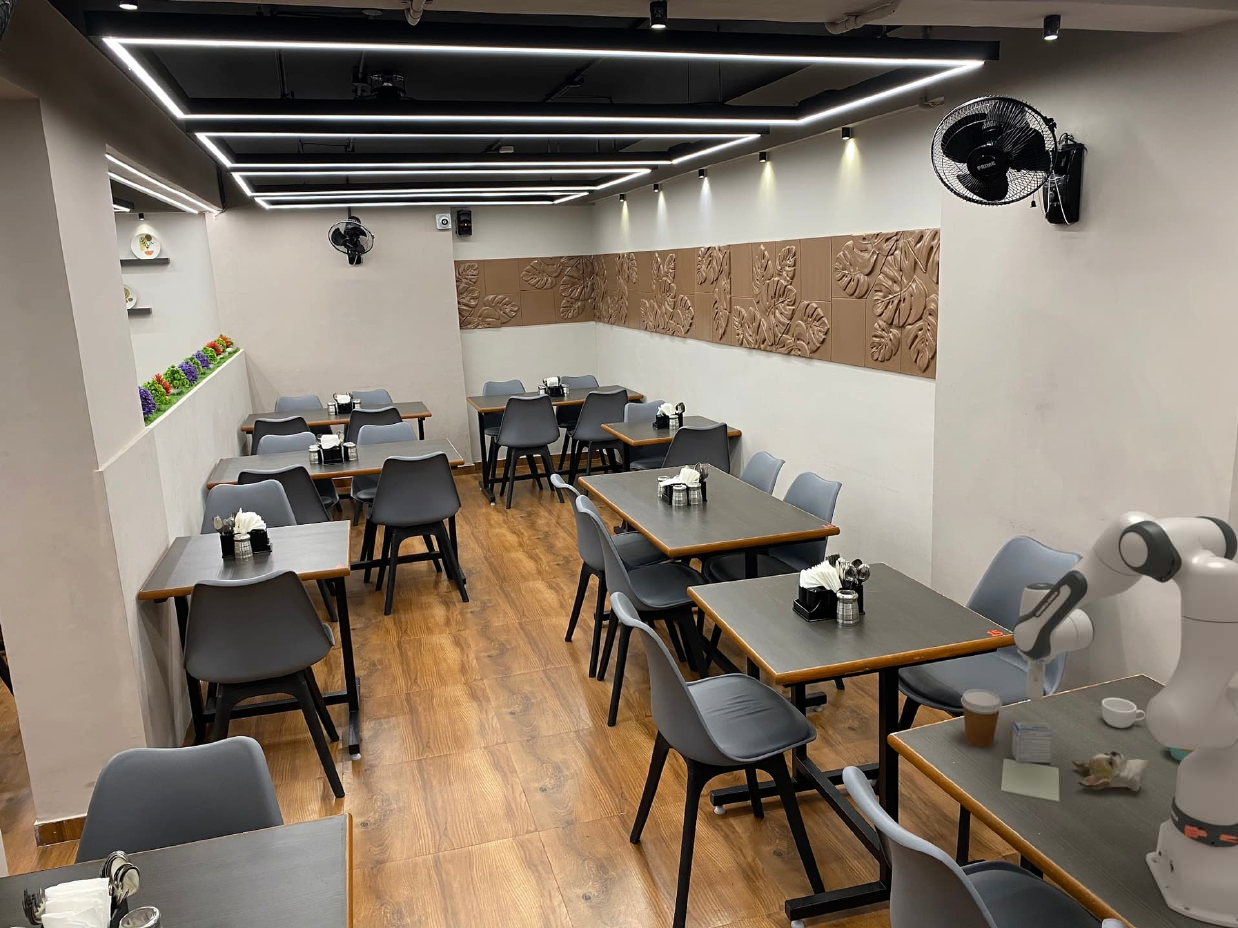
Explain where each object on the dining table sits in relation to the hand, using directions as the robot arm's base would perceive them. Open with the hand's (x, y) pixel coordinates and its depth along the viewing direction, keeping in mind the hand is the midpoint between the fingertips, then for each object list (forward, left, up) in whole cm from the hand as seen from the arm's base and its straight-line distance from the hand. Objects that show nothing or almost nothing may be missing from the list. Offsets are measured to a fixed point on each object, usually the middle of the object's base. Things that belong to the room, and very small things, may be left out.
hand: (1033, 697), depth 221 cm
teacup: (+18, -21, -13) cm, 31 cm away
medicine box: (-7, 0, -13) cm, 15 cm away
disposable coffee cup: (-3, +12, -13) cm, 18 cm away
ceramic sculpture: (-12, -17, -13) cm, 24 cm away
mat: (-17, 0, -13) cm, 21 cm away
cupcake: (+6, -33, -13) cm, 36 cm away
